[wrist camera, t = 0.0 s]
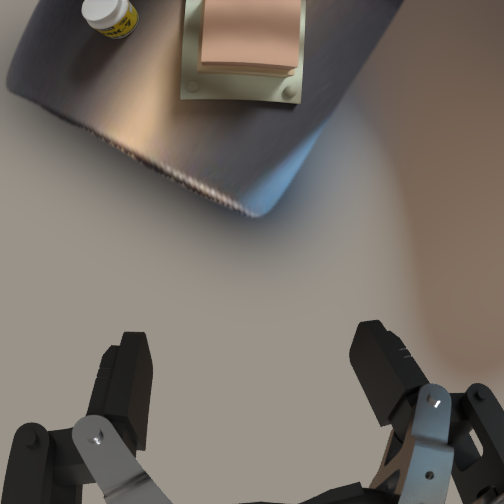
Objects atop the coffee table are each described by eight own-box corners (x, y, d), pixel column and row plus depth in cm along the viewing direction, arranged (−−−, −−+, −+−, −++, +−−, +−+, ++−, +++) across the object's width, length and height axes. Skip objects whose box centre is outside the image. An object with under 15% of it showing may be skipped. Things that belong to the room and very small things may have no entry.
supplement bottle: (108, 45, 27) (82, 32, 20) (99, 17, 25) (73, -1, 17) (144, 29, 27) (126, 10, 19) (134, 0, 25) (116, -23, 17)
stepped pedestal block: (188, -17, 25) (184, -45, 17) (303, -9, 26) (325, -32, 19) (181, 99, 32) (172, 97, 25) (297, 103, 34) (320, 104, 26)
